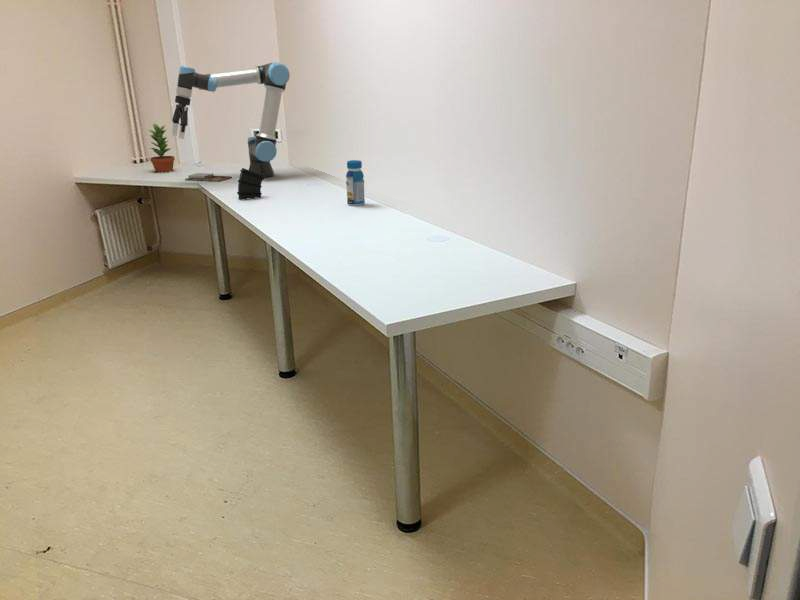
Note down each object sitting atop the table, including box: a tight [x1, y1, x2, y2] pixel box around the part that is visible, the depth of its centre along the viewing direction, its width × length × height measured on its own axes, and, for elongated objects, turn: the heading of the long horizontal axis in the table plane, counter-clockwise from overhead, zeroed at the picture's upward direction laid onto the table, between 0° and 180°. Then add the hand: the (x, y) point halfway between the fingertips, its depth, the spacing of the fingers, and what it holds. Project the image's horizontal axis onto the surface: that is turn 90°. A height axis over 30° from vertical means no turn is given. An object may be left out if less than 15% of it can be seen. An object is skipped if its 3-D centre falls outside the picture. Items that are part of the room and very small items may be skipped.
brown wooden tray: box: [184, 175, 233, 183], centre depth 359 cm, size 23×13×2 cm, turn 71°
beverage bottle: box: [345, 159, 366, 207], centre depth 287 cm, size 8×8×20 cm
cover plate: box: [187, 172, 215, 179], centre depth 360 cm, size 11×9×2 cm
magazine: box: [237, 167, 265, 200], centre depth 308 cm, size 4×13×15 cm, turn 124°
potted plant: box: [148, 123, 175, 173], centre depth 390 cm, size 15×15×30 cm
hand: (177, 137), depth 333 cm, fingers open, 13 cm apart
